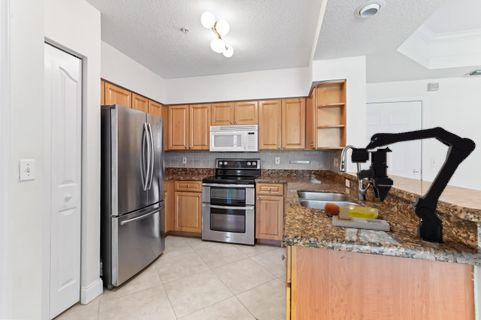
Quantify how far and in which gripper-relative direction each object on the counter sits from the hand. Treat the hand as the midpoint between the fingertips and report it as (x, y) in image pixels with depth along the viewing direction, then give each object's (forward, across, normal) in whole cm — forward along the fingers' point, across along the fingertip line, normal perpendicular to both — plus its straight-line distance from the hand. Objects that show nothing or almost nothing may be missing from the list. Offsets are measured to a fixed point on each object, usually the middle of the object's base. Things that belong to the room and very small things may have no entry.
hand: (378, 200), depth 93 cm
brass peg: (+13, -5, -13) cm, 19 cm away
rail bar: (+13, -5, -7) cm, 16 cm away
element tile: (+14, -23, -4) cm, 27 cm away
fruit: (+13, -20, -18) cm, 30 cm away
